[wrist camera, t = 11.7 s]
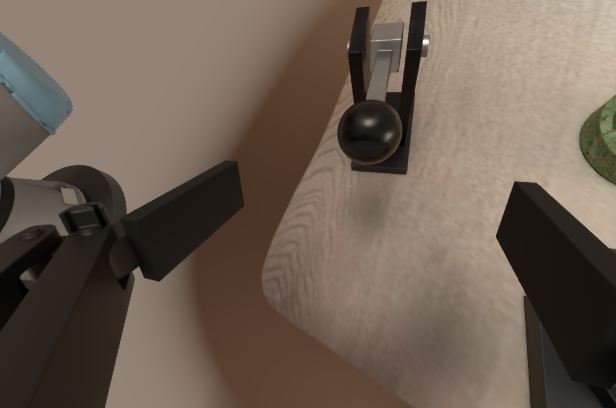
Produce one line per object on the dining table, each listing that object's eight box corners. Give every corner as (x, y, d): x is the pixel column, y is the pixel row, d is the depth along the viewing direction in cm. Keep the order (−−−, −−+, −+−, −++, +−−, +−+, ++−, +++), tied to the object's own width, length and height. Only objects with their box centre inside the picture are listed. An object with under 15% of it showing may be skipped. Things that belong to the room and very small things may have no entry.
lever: (396, 179, 15) (403, 128, 12) (334, 174, 16) (328, 126, 13) (408, 61, 22) (415, 11, 20) (365, 63, 23) (365, 16, 21)
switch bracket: (406, 174, 30) (427, 83, 17) (351, 170, 31) (334, 84, 19) (413, 98, 32) (437, -29, 20) (363, 98, 34) (355, -19, 21)
